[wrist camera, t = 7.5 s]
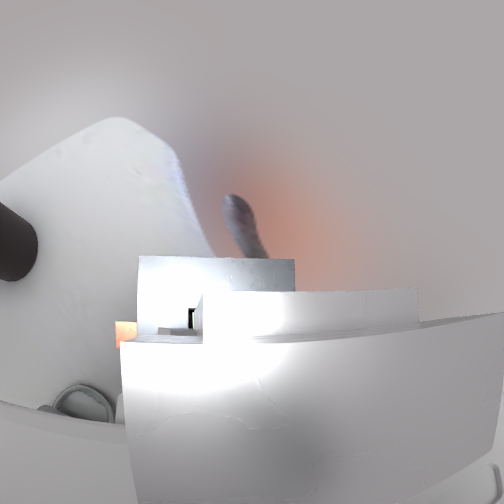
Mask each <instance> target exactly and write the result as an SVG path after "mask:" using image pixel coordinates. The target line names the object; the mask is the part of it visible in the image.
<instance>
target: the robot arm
mask: <svg viewBox="0 0 504 504" xmlns="http://www.w3.org/2000/svg"><path fill="white" fill-rule="evenodd" d="M157 335H172V336H196V329H185V328H162V327H159V328H158V331H157ZM0 504H138V500H137V496H136V491H135V486H134V480H133V475H132V469H131V462H130V456H129V449H128V442H127V434H126V425H125V415H124V404H123V392H121V393H120V394H119V395H118V400H117V408H116V416H115V424H114V423H106V422H98V421H91V420H85V419H78V418H73V417H67V416H62V415H57V414H52V413H47V412H43V411H38V410H34V409H30V408H26V407H22V406H19V405H15V404H11V403H8V402H5V401H1V400H0ZM397 504H504V393H503V391H502V395H501V403H500V410H499V416H498V422H497V428H496V433H495V438H494V443H493V447H492V450H491V451H489V452H488V453H487V454H485V455H484V456H482V457H481V458H479V459H478V460H476V461H475V462H473V463H472V464H470V465H469V466H467V467H465V468H464V469H462V470H461V471H459V472H457V473H456V474H454V475H452V476H451V477H449V478H447V479H445V480H444V481H442V482H440V483H438V484H436V485H434V486H432V487H431V488H429V489H427V490H425V491H423V492H421V493H419V494H417V495H415V496H412V497H410V498H408V499H406V500H404V501H401V502H399V503H397Z"/></svg>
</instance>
